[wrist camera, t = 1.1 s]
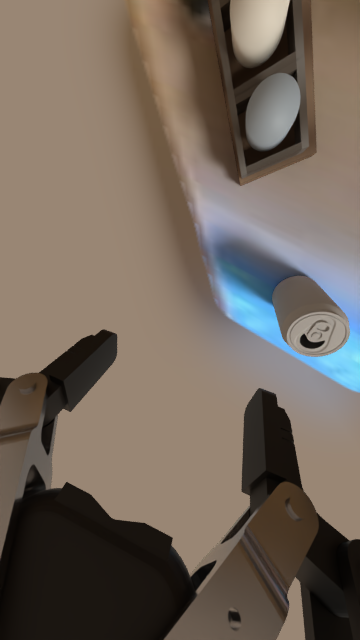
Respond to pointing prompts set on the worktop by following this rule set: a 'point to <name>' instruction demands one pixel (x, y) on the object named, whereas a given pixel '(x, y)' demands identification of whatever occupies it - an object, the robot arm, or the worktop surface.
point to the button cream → (256, 29)
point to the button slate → (272, 111)
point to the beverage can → (309, 317)
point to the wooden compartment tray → (243, 81)
